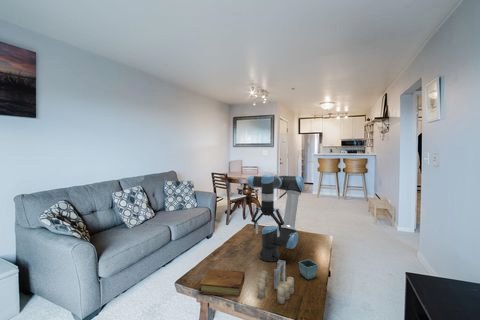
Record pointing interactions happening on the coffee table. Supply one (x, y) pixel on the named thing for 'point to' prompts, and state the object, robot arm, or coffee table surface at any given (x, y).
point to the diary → (222, 282)
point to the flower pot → (308, 269)
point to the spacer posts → (282, 290)
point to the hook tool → (279, 273)
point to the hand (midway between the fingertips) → (267, 234)
